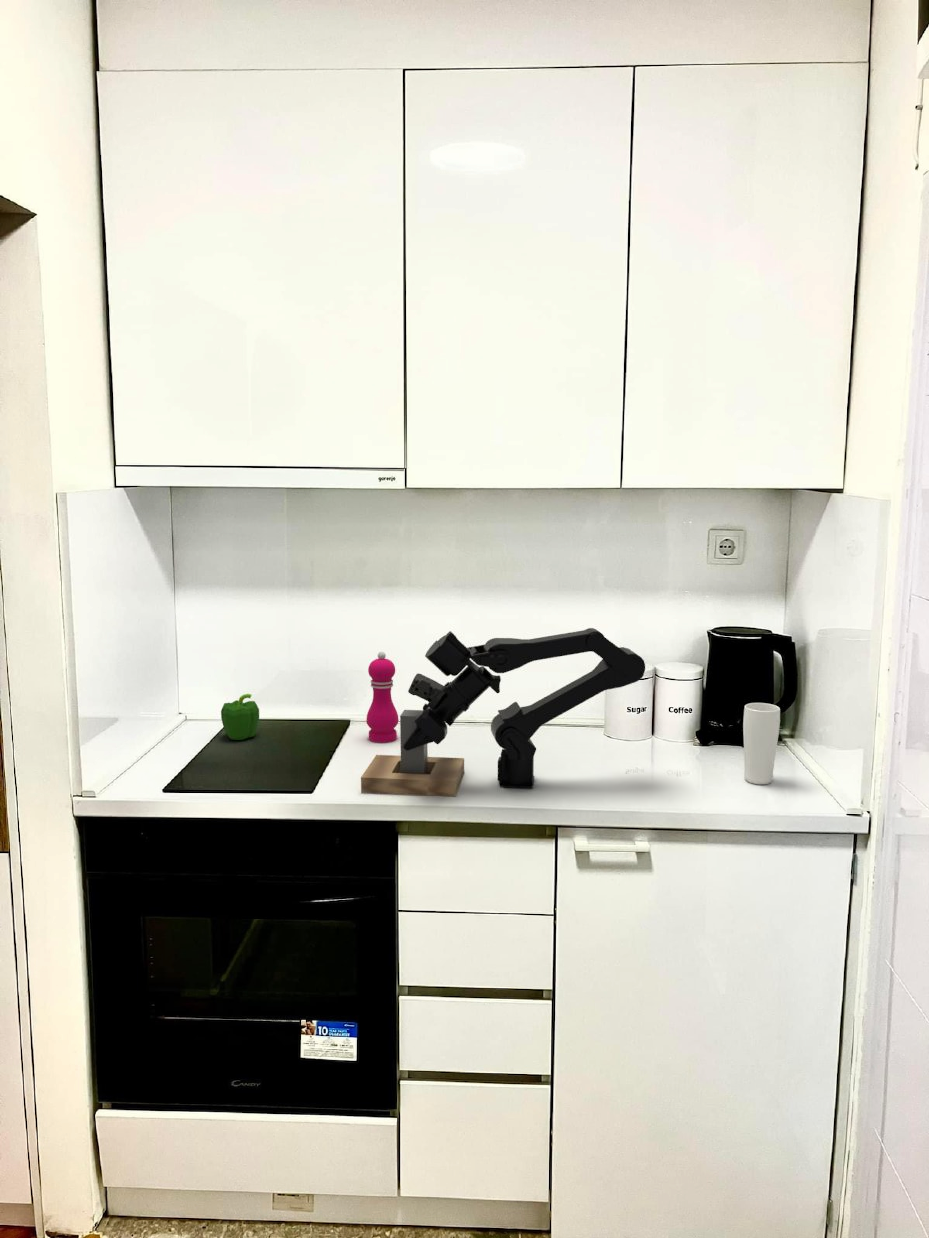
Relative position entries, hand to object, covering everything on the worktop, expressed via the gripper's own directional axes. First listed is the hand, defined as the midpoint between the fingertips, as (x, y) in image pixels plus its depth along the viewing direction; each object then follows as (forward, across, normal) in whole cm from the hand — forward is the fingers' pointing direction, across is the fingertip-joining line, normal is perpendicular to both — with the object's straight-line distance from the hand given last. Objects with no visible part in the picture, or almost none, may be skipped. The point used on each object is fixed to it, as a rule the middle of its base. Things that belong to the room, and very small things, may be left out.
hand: (407, 744), depth 188 cm
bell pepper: (+36, -25, -25) cm, 50 cm away
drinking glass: (-43, -9, +54) cm, 69 cm away
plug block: (+4, 0, +6) cm, 7 cm away
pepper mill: (+13, -28, -2) cm, 31 cm away
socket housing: (+4, 0, +6) cm, 8 cm away
